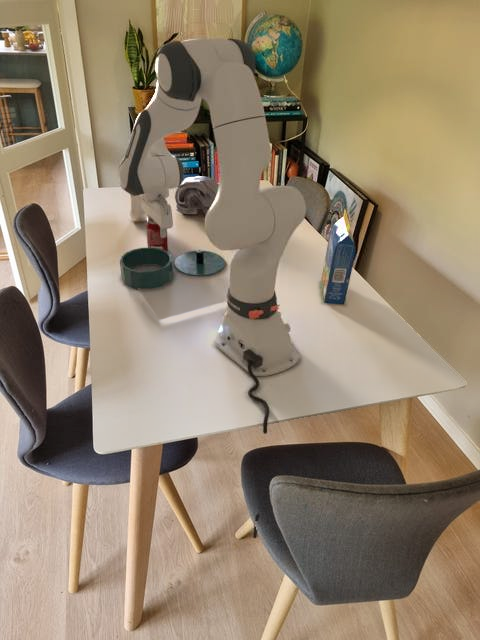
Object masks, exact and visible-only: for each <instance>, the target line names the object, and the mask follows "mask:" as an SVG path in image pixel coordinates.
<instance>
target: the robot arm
mask: <svg viewBox="0 0 480 640" xmlns="http://www.w3.org/2000/svg"><path fill="white" fill-rule="evenodd" d="M154 70H155V72H154V73H155V78H156V86H155V87H156V88H155V92H154V94H153V97H152V98H151V100H150V101H149V103H148V105H146V107H145V108H144V109H143V110H141V112H139V113H138V115H137V117H136V119H135V122H134V126H133V128H132V131H131V134H130V138H129V141H128V144H127V147H126V151H125V154H124V157H123V159H122V160H121V162H120V164H119V167H118V173H117V174H118V175H117V176H118V181H119V185H120V187H121V189H122V190H123V191H124V192H126V193H128V195H129V194H131V195H133V196H137V195H139V199H140V204H141V207H142V209H143V210H144V211H145V212H146V213H147V219H148V218H150V217H151V218H152V219H153V220H154V221H155V222H156V223H157V224H158V225H159V226H160V231H159V235H160V237H161V238H164V237H166V231H167V232H168V229H172V228H173V226H174V218H173V211H172V206H171V204H170V203H169V202H168V200H167V198H169V197H170V190H174V189H177V188H178V187H179V186H180V185H181V184H182V182H183V181H184V179H185V178H184V177H185V173H184V171H185V170H184V165H183V162H182V161H181V160H180V159H179V158H178V157H177V156H176V155H174V154H172V153H171V152H170V151H169V150H168V147H167V145H166V141H165V139H164V138H167V137H169V136H171V135H176V134H178V133H181V132H183V131H185V130H187V129H189V128H190V127H191V126H193V124H194V122H195V121H196V119H197V117H198V114H199V112H200V109H201V104H202V100H204V101H205V102H206V103H207V105H208V109H209V115H210V121H211V126H212V127H211V128H212V131H213V135H214V141H215V147H216V152H217V157H218V165H219V178H218V184H219V186H218V191H217V194H216V197H215V200H214V202H213V204H212V205H211V207H210V208H209V210H208V211H207V214H206V215H205V217H204V230H205V233H206V236H207V238H208V240H209V242H210V244H212V245H213V246H214V247H215V248H217V249H218V250H220V251H223V252H224V251H236V250H238V251H236V253H235V254H234V256H233V257H232V258H231V261H230V265H229V286H228V288H227V293H226V305H227V307H226V309H225V312H224V313H223V316H222V320H221V325H220V327H219V329H218V333H220V335H219V337H218V338H217V339H216V342H215V346H216V347H217V348H218V349H219V350H220V351H221V352H223V353H224V354H225V355H226V356H228V357H229V358H230V359H231V360H232V361H234V362H235V363H236V364H238V365H239V367H241V368H242V369H243V370H244V371H246V372H247V373H248V375H249V376H250V377H251V379H252V380H253V381H254V383H255V384H254V385H253V386H252V387H251V388H249V390H248V391H247V394H248V397H249V398H250V399H252V400H253V401H255V402H258V403H261V404H262V405H263V407H264V412H265V413H264V416H263V424H262V432H263V434H264V435H266V434H268V422H269V417H270V407H269V405H268V403H267V401H266V399H263V398H261V397H259V396H256V395H255V394H253V392H254V391H256V390H257V389H258V388H259V386H260V381H259V378H258V377H266V376H271V375H272V376H273V375H276V374H279V373H281V372H284V371H286V370H289V369H291V368H292V367H294V366H295V365H296V364H298V362H299V360H300V354H299V353H298V351H297V350H296V349H295V347H294V345H293V344H292V338H291V335H290V333H289V332H291V325H290V324H289V323H285V322H284V320H283V318H282V313H281V312H280V311H279V309H280V305H281V304H278V297H277V294H276V282H277V276H278V275H277V274H278V268H279V264H280V262H281V258H282V257H283V253H284V251H285V249H286V247H287V245H288V243H289V241H290V239H291V237H292V236H293V234H294V233H295V231H296V230H297V229H298V227H299V226H300V225H301V224H302V223H303V222H304V219H305V218H306V213H307V205H306V201H305V197H304V196H303V194H302V193H301V191H300V190H299V189H298V188H296V187H295V186H292V185H271V186H268V187H264V188H261V187H260V184H261V177H262V174H263V172H264V169H265V168H266V167H267V166H268V165H269V163H270V161H271V159H272V147H271V141H270V136H269V131H268V130H269V129H268V125H267V119H266V114H265V109H264V103H263V100H262V96H261V93H260V89H259V86H258V83H257V81H256V78H255V74H256V59H255V56H254V53H253V50H252V48H251V47H250V45H249V44H248V43H247V42H245V41H243V40H240V39H236V38H232V37H231V38H227V39H223V38H206V37H200V38H191V39H187V40H182V41H179V40H174V41H170V42H167V43H166V44H163V45H162V46H160V47H159V49H158V51H157V53H156V56H155V60H154ZM258 520H259V521H260V513H257V514H255V516H254V522H255V521H258ZM259 521H258V522H259ZM257 536H258V529H257V530H256V527H255V524H254V525H253V535H252V538H253V539H257V538H258V537H257Z"/></svg>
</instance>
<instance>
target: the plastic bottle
mask: <svg viewBox="0 0 480 640" xmlns="http://www.w3.org/2000/svg"><path fill="white" fill-rule="evenodd" d="M128 195H129V218H130V219H131V221H133V222H144V221H146V220H147V219H148V217H147V213H146V212H145V211H144V210H143V209H142V207H141V204H140V199H139V195H137V196H133V195H131V194H129V193H128Z"/></svg>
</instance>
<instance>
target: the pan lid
mask: <svg viewBox="0 0 480 640" xmlns="http://www.w3.org/2000/svg"><path fill="white" fill-rule="evenodd" d="M173 263H174V264H173V265H174V267H175V269H176V270H177V271H178V272H180V273H182V274H184V275H187V276H191V277H208V276H213V275H216V274H219V273H220V272H222V271H223V270H224V268H225V267H226V261H225V259H224V257H223V256H222V255H220V254H218V253H216V252H213V251H210V250H203V249H197V250H189V251H186V252H184V253H181V254H180V255H178V256H177V257H176V258H175V259H174V262H173Z"/></svg>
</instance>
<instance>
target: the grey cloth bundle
mask: <svg viewBox="0 0 480 640" xmlns="http://www.w3.org/2000/svg"><path fill="white" fill-rule="evenodd" d="M218 186H219V182H217V181H216V180H215V179H214V178H212V177H208V176H203V175H202V176H200V175H198V176H188V177H185V178H183V181H182V183H181V184H180V186H179V187H176V190H175V193H174V200H175V203H176V205H175V211H176V212H177V213H179V214H182V215H184V214H185V215H197V214H198V213H199V212H200V211H201V210H202V212H203V214H204V215H205V216H206V214H207V211H208V210H209V208H210V207H211V205H212V204H213V202H214V200H215V197H216V194H217V191H218Z"/></svg>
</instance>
